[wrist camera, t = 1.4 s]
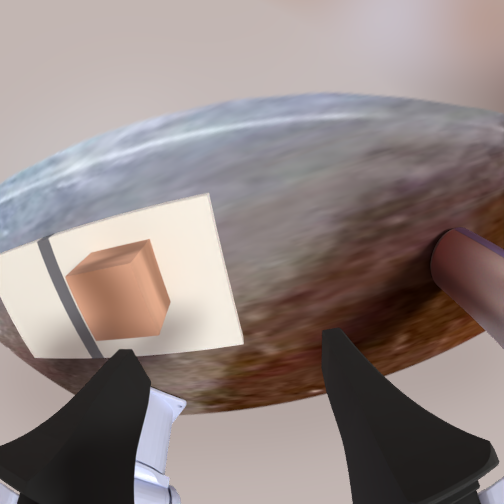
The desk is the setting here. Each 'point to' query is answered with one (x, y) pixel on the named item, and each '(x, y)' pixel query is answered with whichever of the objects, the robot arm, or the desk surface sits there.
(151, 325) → the block
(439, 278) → the beverage can
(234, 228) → the desk surface
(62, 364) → the desk surface
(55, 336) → the board
